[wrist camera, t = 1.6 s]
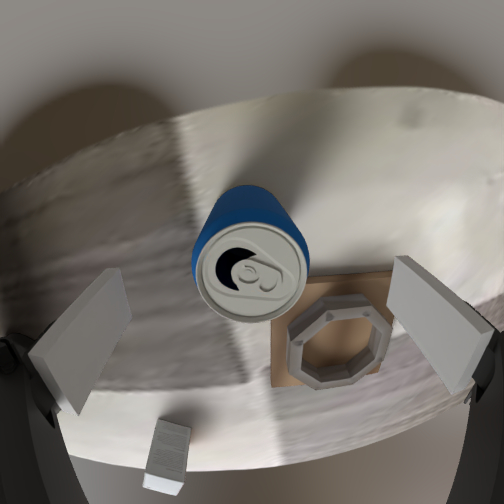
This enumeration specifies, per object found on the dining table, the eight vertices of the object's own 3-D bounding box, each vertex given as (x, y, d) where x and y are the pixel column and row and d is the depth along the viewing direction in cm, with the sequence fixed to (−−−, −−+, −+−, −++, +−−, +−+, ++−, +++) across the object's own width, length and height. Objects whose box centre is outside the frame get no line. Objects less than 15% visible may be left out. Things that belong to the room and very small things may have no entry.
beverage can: (228, 172, 24) (215, 191, 12) (294, 202, 25) (337, 245, 13) (201, 237, 26) (171, 305, 14) (264, 263, 27) (280, 343, 15)
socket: (270, 378, 32) (273, 402, 28) (270, 279, 27) (274, 299, 24) (374, 365, 32) (384, 385, 29) (396, 270, 28) (414, 286, 24)
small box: (183, 447, 38) (177, 496, 28) (152, 439, 38) (141, 487, 28) (192, 427, 36) (185, 483, 26) (157, 417, 35) (144, 473, 25)
